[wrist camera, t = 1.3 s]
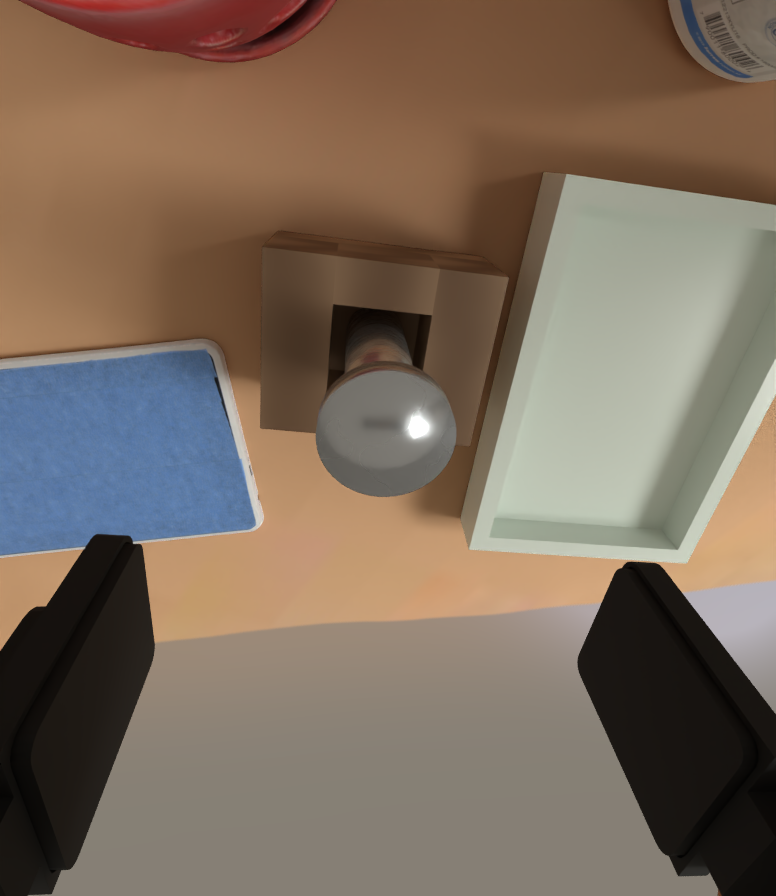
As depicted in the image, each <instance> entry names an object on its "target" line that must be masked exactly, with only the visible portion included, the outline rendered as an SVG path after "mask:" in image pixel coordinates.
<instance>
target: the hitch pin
mask: <svg viewBox="0 0 776 896" xmlns="http://www.w3.org/2000/svg"><path fill="white" fill-rule="evenodd" d="M455 443H456V423H455V419H454V415H453V412H452V410H451V407H450V404H449V402H448V399H447V397H446V395H445V393H444V391H443V390H442V388H441V387H440V385H439V384H438V383H437V382H436V381H435V380H434V379H433V378H432V377H431V376H430V375H428V374H427V373H426V372H424V371H422V370H421V369H419V368H417V367H415V366H413V364H412V361H411V357H410V353H409V350H408V346H407V343H406V339H405V335H404V332H403V328H402V325H401V322H400V320H399V318H398V317H397V316H396V314H395V313H394V312H392V311H389V310H381V309H372V308H361V309H360V310H358V311H357V312H356V313H355V314H354V315H353V316H352V317H351V319H350V320H349V322H348V325H347V330H346V351H345V374H343V375H342V376H341V377H339V378H338V379H337V380H336V381H335V382H334V383H333V384H332V386H331V387H330V388H329V389H328V391H327V392H326V394H325V396H324V398H323V400H322V402H321V405H320V409H319V414H318V421H317V428H316V445H317V450H318V453H319V456H320V458H321V461H322V463H323V464H324V466H325V467H326V469H327V470H328V472H329V473H330V474H331V475H332V476H333V477H334V478H335V479H336V480H337V481H338V482H340V483H341V484H343V485H344V486H346V487H348V488H350V489H351V490H353V491H356V492H359V493H362V494H366V495H370V496H377V497H390V496H398V495H403V494H407V493H410V492H413V491H415V490H417V489H419V488H421V487H423V486H425V485H426V484H428V483H429V482H431V481H432V480H433V479H435V478H436V477H437V476H438V475H439V474H440V473H441V471H442V470H443V469H444V468H445V466H446V465H447V463H448V462H449V460H450V458H451V456H452V453H453V451H454V447H455Z"/></svg>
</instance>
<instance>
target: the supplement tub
mask: <svg viewBox="0 0 776 896" xmlns="http://www.w3.org/2000/svg"><path fill="white" fill-rule="evenodd" d="M668 5H669V10H670V14H671V18H672V21H673V24H674V27H675V29H676V32H677V34H678V36H679V38H680V40H681V42H682V44H683V45H684V47H685V48H686V50H687V51H688V52H689V54H690V55H691V56H692V57H693V58H694V59H695V60H696V61H697V62H698V63H699V64H700V65H702V66H703V67H704V68H705V69H707V70H708V71H710V72H712V73H714V74H715V75H718V76H720V77H723V78H725V79H729V80H733V81H738V82H745V83H755V82H763V81H770V80H776V0H668Z"/></svg>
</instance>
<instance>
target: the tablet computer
mask: <svg viewBox="0 0 776 896" xmlns="http://www.w3.org/2000/svg"><path fill="white" fill-rule="evenodd" d="M263 519H264V515H263V511H262V507H261V503H260V500H259V499H258V491H257V487H256V483H255V479H254V475H253V471H252V468H251V463H250V459H249V455H248V451H247V447H246V443H245V439H244V435H243V431H242V427H241V423H240V419H239V415H238V410H237V406H236V402H235V398H234V394H233V390H232V386H231V381H230V377H229V373H228V369H227V365H226V360H225V356H224V353H223V351H222V349H221V348H220V346H219V345H218V344H217V343H216V342H214V341H212V340H209V339H191V340H182V341H173V342H163V343H155V344H146V345H137V346H128V347H119V348H108V349H98V350H88V351H78V352H67V353H57V354H47V355H37V356H27V357H17V358H6V359H0V558H4V557H14V556H23V555H32V554H42V553H51V552H61V551H71V550H80V549H85V547H86V545H87V544H88V542H89V541H90V539H91V538H92V537H93V536H94V535H96V534H109V535H128V536H131V538H132V540H133V544H137V543H147V542H156V541H167V540H177V539H187V538H196V537H205V536H214V535H224V534H234V533H244V532H252V531H255V530H256V529H258V528H259V527H260V525H261V524H262V523H263Z"/></svg>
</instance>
